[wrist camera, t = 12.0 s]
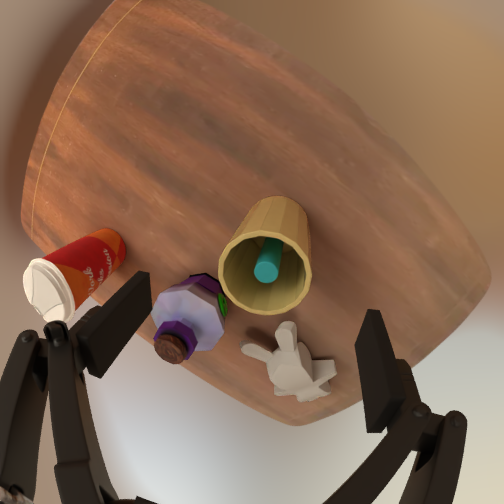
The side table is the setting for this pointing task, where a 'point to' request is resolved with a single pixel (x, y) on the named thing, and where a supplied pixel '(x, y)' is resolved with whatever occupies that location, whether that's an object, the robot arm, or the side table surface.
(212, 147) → the side table surface
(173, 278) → the side table surface
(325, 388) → the bunny figurine
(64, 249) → the paper cup
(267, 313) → the can
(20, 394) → the robot arm
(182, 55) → the side table surface
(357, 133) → the side table surface
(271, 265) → the teal cylinder rod
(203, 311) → the potion bottle
